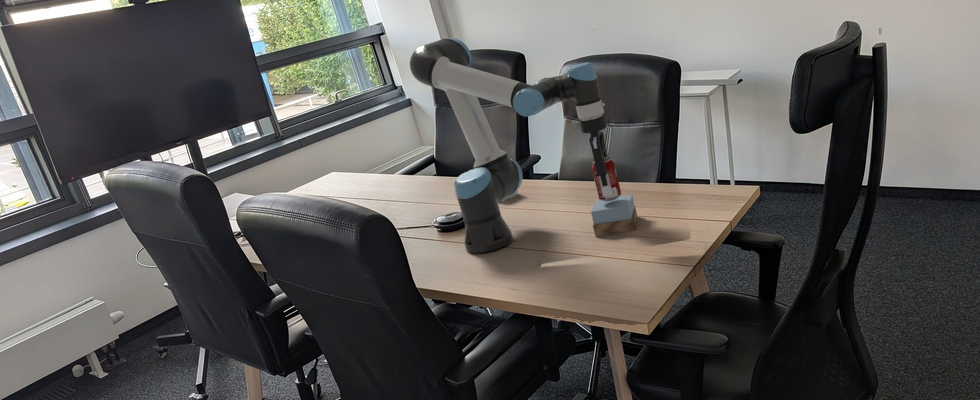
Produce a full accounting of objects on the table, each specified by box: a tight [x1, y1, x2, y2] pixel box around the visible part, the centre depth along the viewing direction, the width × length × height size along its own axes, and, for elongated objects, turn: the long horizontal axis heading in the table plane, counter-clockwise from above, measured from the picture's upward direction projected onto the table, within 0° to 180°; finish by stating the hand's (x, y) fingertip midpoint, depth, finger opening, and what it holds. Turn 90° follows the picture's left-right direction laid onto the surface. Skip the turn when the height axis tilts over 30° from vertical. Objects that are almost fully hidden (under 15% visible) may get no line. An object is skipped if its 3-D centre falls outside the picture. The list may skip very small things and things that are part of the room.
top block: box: [590, 194, 636, 224], centre depth 222 cm, size 11×11×4 cm
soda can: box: [591, 156, 622, 201], centre depth 220 cm, size 7×7×12 cm
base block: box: [592, 207, 639, 238], centre depth 223 cm, size 12×12×4 cm
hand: (608, 192), depth 221 cm, fingers closed on soda can, 7 cm apart
